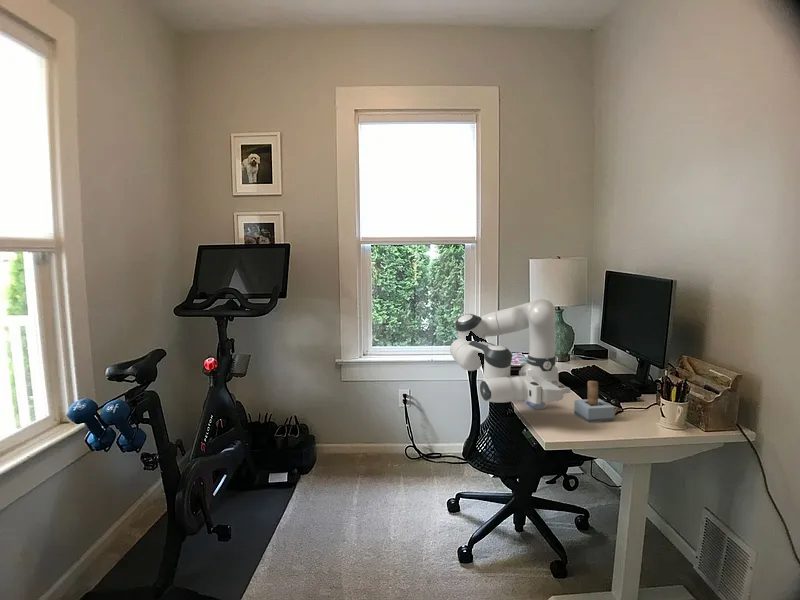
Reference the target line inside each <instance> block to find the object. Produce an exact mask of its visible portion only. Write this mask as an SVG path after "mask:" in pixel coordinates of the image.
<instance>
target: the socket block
mask: <svg viewBox="0 0 800 600" xmlns="http://www.w3.org/2000/svg"><path fill="white" fill-rule="evenodd" d="M573 401H574V404H573V405H574V406H573V407H574V408H573V410H574V411H573V414H574V415H577V417H580V418H581V419H583V420H584V421H585V422H587V423H593V422H594V423H595V422H596V423H598V421H599V422H611V421H612V420H614V421H615V406H614V405H611V404H610V403H608V402H607V401H605V400H602V399H601V398H598V406H590V405H588V398H587V399H585V398H584V399H574V400H573Z"/></svg>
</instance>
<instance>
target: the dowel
mask: <svg viewBox="0 0 800 600" xmlns="http://www.w3.org/2000/svg"><path fill="white" fill-rule="evenodd" d="M587 399H588V405H590V406H598V399H599V382H598V381H597V380H588V381H587Z"/></svg>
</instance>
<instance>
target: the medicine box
mask: <svg viewBox="0 0 800 600" xmlns="http://www.w3.org/2000/svg"><path fill="white" fill-rule="evenodd" d="M525 404H526V405H528V406H529V407H530V408H532V409H533V410H544V409H546V402H541V404H534V403H531V402H526V401H525Z"/></svg>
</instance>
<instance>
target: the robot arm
mask: <svg viewBox="0 0 800 600" xmlns="http://www.w3.org/2000/svg"><path fill="white" fill-rule="evenodd" d="M525 329H528V354H527V358H526V363H525V364H524V365H523V366H522V367H520V370H519V371H518V376H517V375H515V376H514V377H511V366H512V359H513V353H512V351H510V350H509V348H507V347H506V346H503V345H496V344H494V343H490V342H487V339H486V337H496V336H498V337H499V336H502V335H506V334H511V333H517V332H520V331H523V330H525ZM455 330H456V331H457V336H458V338H457V339H455V340H453V342H452V343H451V344H450V347H449V351H450V352H449V353H450V355H451V357H452V359H453V360H454V361H455V363H457V364H458V365H459V367H461V368H462V369H463V370H466V371H467V372H468V371H469V372H471V371H472V372H474V371H477V370H479V369H480V368H481V367H482V366H483V377H482V378H483V380H481V382H480V386H479V391H480V395H481V397H482V399H483V400H484V401H485V402H488V403H489V402H490V403H510V402H514V401H516V402H525V403H526V402H531V403H534V404H541V402H545V403H552V402H559V401H560V402H561V400H563V399H564V395H565V394H570V393H571V388H570V387H568V386H563V388H562V383H561V382H559V369H558V367H557V366H556V364H557V363H556V362H557V358H556V355H555V351H556V349H555V348H556V346H555V345H556V308H555V306H554V303H552V301H550V300H548V299H545V298H544V299H543V298H542V299H538V300H534V301H530V302H526V303H522V304H519V305H515V306H512V307H508V308H505V309H500V310H495V311H492V312H489V313H486V314H483V315H481V316H479V315H478V316H477V315H476V314H473V313H465V314H462V315H461V316H460V315H459V317H458V318H457V319H456V320H455ZM470 331H472V332H473V333H474V334H475V335H476V336H478V337H479V338H482V339H484V340H486V342H485V341H482V342H481V341H479V342H477V341H475V340H474V341H467V340H466V336H467V335H469V333H470ZM478 353H482V354H484V364H483V365H481V360H480V357H479V356H478ZM559 386H560V387H559Z"/></svg>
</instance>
